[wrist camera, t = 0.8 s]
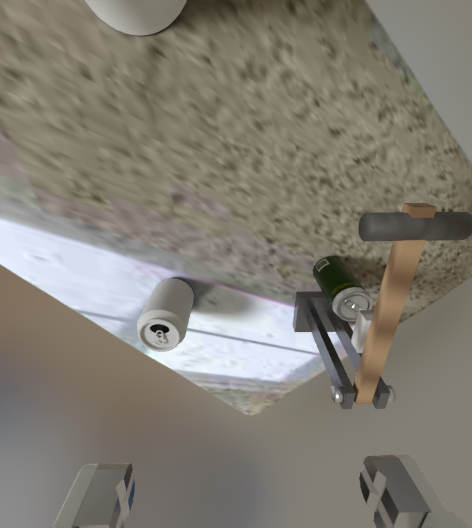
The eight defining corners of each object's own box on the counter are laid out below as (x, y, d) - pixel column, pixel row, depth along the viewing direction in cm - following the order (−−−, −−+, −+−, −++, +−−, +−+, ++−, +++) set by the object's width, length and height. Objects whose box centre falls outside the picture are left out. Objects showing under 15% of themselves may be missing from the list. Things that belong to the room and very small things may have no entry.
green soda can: (305, 271, 48) (326, 311, 37) (325, 249, 46) (354, 284, 35) (327, 285, 49) (354, 328, 38) (348, 264, 47) (382, 303, 36)
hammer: (356, 198, 26) (377, 209, 22) (447, 198, 26) (482, 208, 22) (320, 381, 37) (330, 408, 34) (383, 381, 37) (399, 407, 34)
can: (195, 277, 48) (184, 318, 37) (194, 310, 51) (184, 357, 40) (154, 274, 48) (130, 315, 37) (155, 308, 51) (134, 354, 40)
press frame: (296, 291, 50) (331, 379, 32) (349, 291, 50) (413, 378, 32) (292, 325, 53) (322, 421, 35) (341, 324, 53) (396, 420, 35)
